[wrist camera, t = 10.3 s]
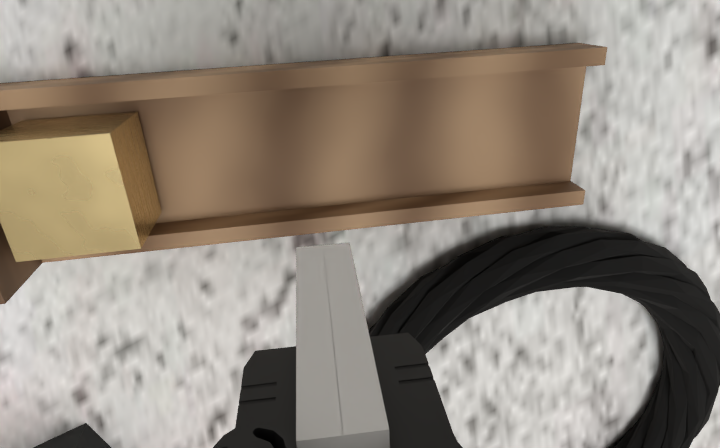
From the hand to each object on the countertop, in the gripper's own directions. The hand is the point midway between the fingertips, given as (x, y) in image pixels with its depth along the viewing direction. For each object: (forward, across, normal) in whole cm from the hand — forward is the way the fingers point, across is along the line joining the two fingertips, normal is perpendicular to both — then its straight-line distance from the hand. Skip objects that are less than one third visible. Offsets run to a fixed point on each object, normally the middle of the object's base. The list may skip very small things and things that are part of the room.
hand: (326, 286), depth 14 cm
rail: (+13, -1, +1) cm, 13 cm away
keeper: (+11, -10, +1) cm, 15 cm away
